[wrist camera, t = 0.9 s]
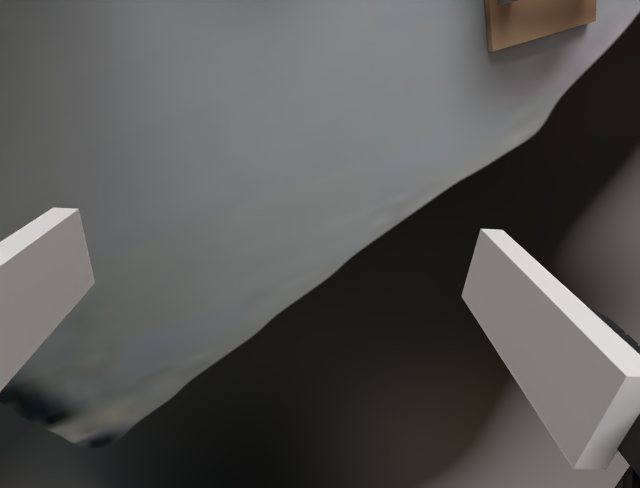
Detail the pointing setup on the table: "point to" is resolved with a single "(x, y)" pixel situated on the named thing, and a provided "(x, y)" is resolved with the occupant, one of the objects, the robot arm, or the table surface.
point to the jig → (533, 19)
